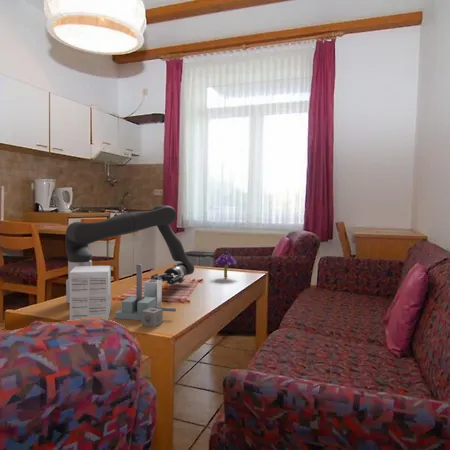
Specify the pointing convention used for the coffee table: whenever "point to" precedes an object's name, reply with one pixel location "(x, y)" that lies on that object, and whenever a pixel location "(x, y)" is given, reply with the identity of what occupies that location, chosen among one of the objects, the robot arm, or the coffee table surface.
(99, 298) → the supplement box
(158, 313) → the dice cube
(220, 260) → the decorative mushroom
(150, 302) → the vise
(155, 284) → the steel sleeve
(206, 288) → the coffee table surface
